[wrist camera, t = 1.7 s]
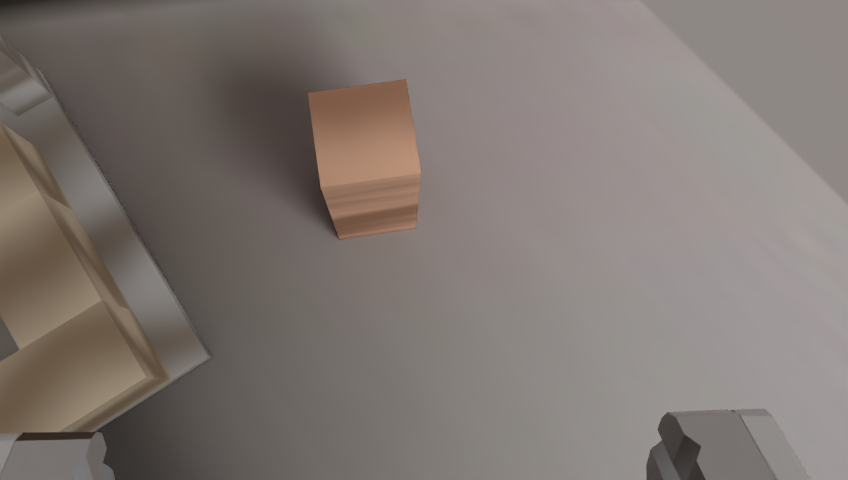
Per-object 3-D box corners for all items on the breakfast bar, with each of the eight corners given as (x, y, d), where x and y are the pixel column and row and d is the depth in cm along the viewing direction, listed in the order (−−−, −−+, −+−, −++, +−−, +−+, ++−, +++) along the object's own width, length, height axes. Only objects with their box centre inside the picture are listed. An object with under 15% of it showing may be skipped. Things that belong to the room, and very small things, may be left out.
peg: (415, 228, 40) (421, 173, 31) (339, 239, 40) (320, 187, 30) (404, 155, 41) (405, 79, 31) (329, 166, 41) (307, 93, 31)
